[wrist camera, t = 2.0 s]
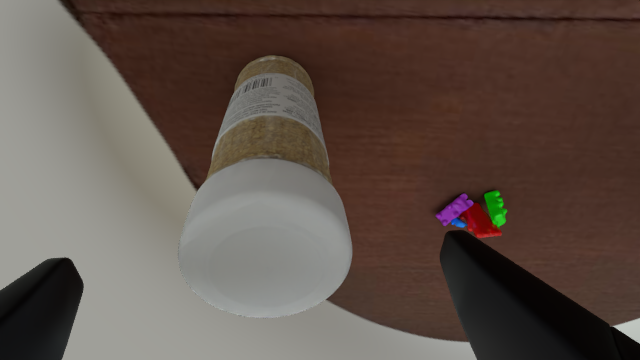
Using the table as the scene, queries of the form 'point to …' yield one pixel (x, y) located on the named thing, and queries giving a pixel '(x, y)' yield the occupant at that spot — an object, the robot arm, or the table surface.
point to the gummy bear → (476, 215)
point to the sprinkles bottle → (267, 203)
